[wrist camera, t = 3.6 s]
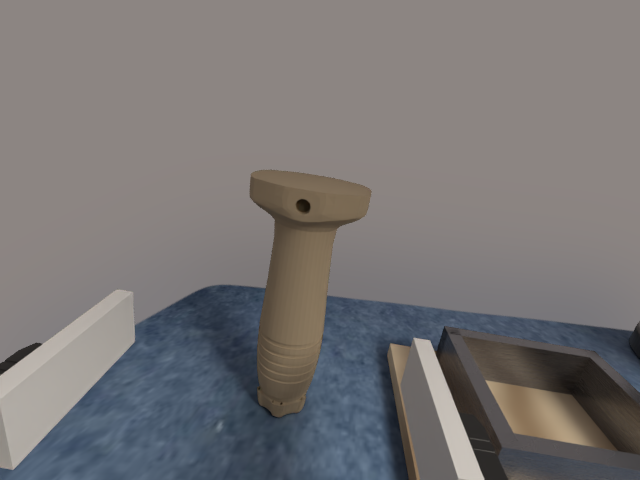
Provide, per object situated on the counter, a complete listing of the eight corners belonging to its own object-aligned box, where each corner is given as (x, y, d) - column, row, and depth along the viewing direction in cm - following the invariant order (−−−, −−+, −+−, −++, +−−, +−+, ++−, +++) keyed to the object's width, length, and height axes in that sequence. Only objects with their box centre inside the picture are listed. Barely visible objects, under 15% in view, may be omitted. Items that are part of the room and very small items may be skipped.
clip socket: (576, 387, 28) (594, 351, 26) (705, 537, 18) (743, 488, 17) (432, 363, 28) (444, 326, 27) (480, 497, 18) (502, 447, 17)
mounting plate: (596, 390, 30) (602, 379, 29) (799, 607, 16) (814, 592, 16) (387, 355, 30) (390, 343, 30) (419, 539, 17) (425, 523, 16)
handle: (246, 368, 26) (265, 166, 21) (331, 384, 26) (370, 184, 21) (222, 420, 21) (238, 178, 16) (324, 441, 21) (372, 201, 16)
